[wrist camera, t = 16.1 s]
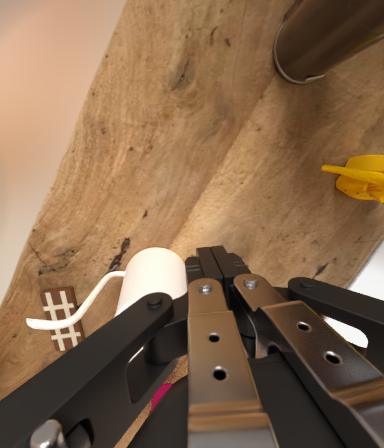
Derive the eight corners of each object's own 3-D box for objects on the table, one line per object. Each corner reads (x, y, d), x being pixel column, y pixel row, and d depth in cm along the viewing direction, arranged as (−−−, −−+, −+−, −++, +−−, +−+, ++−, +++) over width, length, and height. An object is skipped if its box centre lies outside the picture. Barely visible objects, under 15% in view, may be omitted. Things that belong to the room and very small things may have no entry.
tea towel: (43, 289, 40) (39, 293, 38) (72, 286, 40) (69, 290, 39) (58, 346, 43) (55, 351, 42) (85, 342, 43) (83, 347, 42)
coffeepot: (88, 228, 38) (17, 285, 20) (226, 261, 42) (272, 332, 24) (77, 285, 40) (4, 383, 22) (209, 311, 44) (239, 410, 26)
